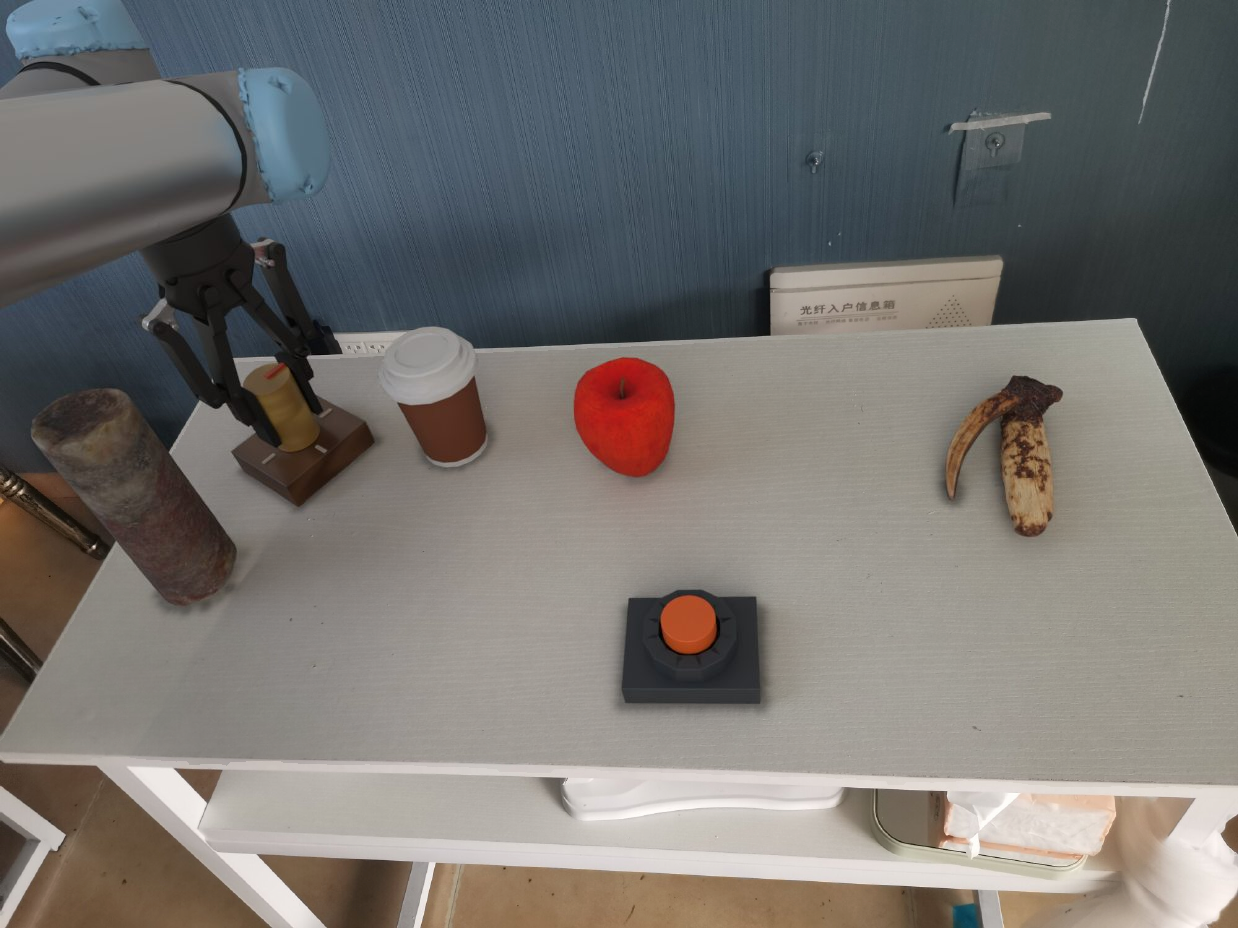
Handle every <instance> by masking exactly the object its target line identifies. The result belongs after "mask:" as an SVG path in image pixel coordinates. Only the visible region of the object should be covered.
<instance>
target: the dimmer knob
mask: <svg viewBox="0 0 1238 928" xmlns="http://www.w3.org/2000/svg"><path fill="white" fill-rule="evenodd" d="M242 387H243V388H245V389H247V390H249V391H250V392H252V393H253V394H254V395H255V397H256V399H257V401H258V402H259V404H260V406H261V408H262V409H263V411H264V413H265V414H266V416H267V418H268V420H269V421H270V423H271V425H272V427H273V428H274V430H275V432H276V433H277V435H278V437H279V439H280V440H281V442H282V444H281V445H280V446H279V447H278V448H279V449H280V450H282V451H286V452H294V451H299V450H302V449H304V448H306V447H308V446H309V445H311V444H312V443H313V442H314V441H315V440H316V439H317V437H318V436H319V433H320V427H319V425H318V423H317V421H316V419H315V417H314V415H313V413H312V411H311V409H310V407H309V406H308V404H307V402H306V400H305V398H304V396H303V394H302V392H301V390H300V388H299V386H298V385H297V383H296V381H295V379H294V377H293V375H292V373H291V371H290V369H289V368H288V367H287V366H286V364H285V363H283V362H281V363H278V362H274V363H267V364H264V365H261V366H259V367H256V368H255V369H254V370H252V371H251V372H249V373H248V374H247V375H246V376H245V377H244V380H243V382H242Z"/></svg>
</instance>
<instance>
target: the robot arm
mask: <svg viewBox="0 0 1238 928" xmlns="http://www.w3.org/2000/svg"><path fill="white" fill-rule="evenodd" d="M5 33H6V36H7V37H8V39H9V41H10V44H11V45H12V47H13V49H14V52H15V55H14V56H15V57H16V58H17V59H18V61H20V63H22V65H23V66H22V67H21V68H20V69H19V70H18V71H17V72H16V73H15V76H14V77H13V78H11V80H10V81H8V82H7V83H6V84H4V85H3V86H2V87H1V88H0V310H2V309H4V308H7V307H9V306H11V305H14V304H16V303H19V302H21V301H23V300H26V299H27V298H31V297H32V296H34V295H37V294H40V293H42V292H44V291H47V290H49V289H51V288H53V287H56V286H59V285H61V284H63V283H65V282H67V281H70V280H72V279H74V278H77V277H79V276H82V275H84V274H86V273H89V272H91V271H93V270H96V269H98V268H100V267H103V266H105V265H108V264H110V263H112V262H115V261H117V260H119V259H121V258H124V257H127V256H128V255H130V254H131V255H132V254H133V253H135V252H137V253H139V255H140V257H141V258H142V260H143V262H144V263H145V265H146V267H147V268H148V270H149V271H150V273H151V274H152V276H153V277H154V279H155V281H156V284H157V296H158V298H159V301H158V302H157V303H156V305H155V306H154V307H153V308H152V309H151V311H150V312H149V313H147V312H142V313H140V314H139V315H138V316H137V318H136V324H137V325H138V326H139V328H142V329H143V330H144V331H146V332H147V333H149V334H150V335H152V336H153V337H154V338H156V340H157V342H158V343H159V345H160V346H161V348H162V349H163V350H164V351H165V353H166V356H167V357H168V358H169V359H170V361H171V363H172V364H173V366H174V367H175V368H176V370H177V372H178V373H179V374H180V376H181V377H182V379H183V380H184V382H185V383H186V385H187V387H188V388H189V389H190V391H191V392H192V394H193V396H194V397H195V398H196V399H197V400H199V401H200V402H202V403H203V404H205V405H207V406H208V407H210V408H211V409H214V410H219V409H221V408H222V407H223V405H224V404H226V406H227V408H228V410H229V412H230V413H231V414H232V416H233V418H234V419H235V420H236V421H238V422H239V423H241V424H243V425H245V426H246V427H248V428H250V427H252V429H253V431H254V433H255V432H256V434H257V436H258V437H259V438H260V439H261V440H263V441H265V442H266V443H268V444H269V445H271V446H273V447H274V448H277V447H279V446H280V445H281V444H282V442H281V440H280V439H279V437H278V435H277V433H276V432H275V430H274V428H273V427H272V425H271V423H270V421H269V420H268V418H267V416H266V414H265V413H264V411H263V409H262V408H261V406H260V404H259V402H258V401H257V399H256V397H255V395H254V394H253V393H252V392H250V391H249V390H247V389H245V388H243V385H242V384H241V380H240V377H239V373H238V369H237V367H236V366H237V365H236V363H235V359H234V356H233V352H232V349H231V346H230V342H229V339H228V336H227V335H228V334H227V331H228V324H227V321H226V316H227V315H228V314H230V312H231V311H232V310H233V309H235V308H239V307H241V308H242V309H243V310H244V312H246V313H247V314H248V316H249V317H251V319H252V320H253V321H254V322H255V323H256V325H258V326H259V328H260V329H261V330H263V332H264V333H265V334H266V336H268V338H269V339H271V341H272V342H273V343H274V344H275V345H276V346H277V347H278V348H279V349H281V350H279V351H278V352H276V353H275V354H273V357H274V359H275V361H276V363H281V362H283V363H285V364H286V366H287V367H288V368H289V369H290V371H291V373H292V375H293V377H294V379H295V381H296V383H297V385H298V386H299V388H300V390H301V392H302V394H303V396H304V398H305V400H306V402H307V404H308V406H309V407H310V409H311V411H312V412H313V413H314V414H316V415H319V414H320V413H321V412H323V411H324V410H323V408H322V406H321V404H320V403H319V401H318V399H317V397H316V395H317V394H316V393H315V391H314V388H313V387H312V385H311V383H310V381H311V380H312V379H313V378H315V374H314V373H315V372H314V370H313V368H312V366H311V364H310V361H309V360H308V356H310V355H309V354H310V348H308V347H307V346H305V345H306V344H307V343H308V341H312V340H314V339H315V338H316V336H317V330H316V328H315V325H314V323H313V321H312V318H311V317H310V315H309V312H308V310H307V308H306V306H305V303H304V301H303V299H302V297H301V295H300V293H299V290H298V288H297V286H296V284H295V282H294V279H293V277H292V274H291V272H290V271H289V267H288V261H287V249H286V246H285V245H284V244H283V243H281V242H278V241H275V240H273V239H271V238H268V237H266V236H261V237H258V239H257V240H256V242H252V243H249V242H247V241H245V240H244V238H243V237H242V236H241V232H240V229H239V228H238V225H237V223H236V222H235V219H234V217H233V215H232V214H231V212H233V211H236V210H238V209H240V208H244V207H249V206H254V205H263V204H273V206H281V205H283V203H284V202H286V203H287V202H291V201H298V200H304V199H305V200H306V199H309V198H312V197H315V196H316V195H318V194H319V193H320V192H321V191H322V190H323V188H324V187H325V185H326V183H327V181H328V179H329V175H330V170H331V160H332V159H331V158H332V157H331V142H330V137H329V131H328V125H327V122H326V119H325V115H324V112H323V109H322V107H321V104H320V102H319V100H318V97H317V95H316V94H315V92H314V91H313V89H312V88H311V86H310V85H309V84H308V82H307V81H306V80H305V79H304V77H302V76H301V75H300V74H298V73H297V72H296V71H293V70H292V69H289V68H287V67H281V66H279V67H278V66H277V67H260V68H259V67H258V68H250V67H248V66H246V67H238V68H237V69H236V70H235V69H234V70H225V71H215V72H208V73H199V74H189V75H182V76H181V75H179V76H174V77H173V76H172V77H165V78H163V77H162V74H161V71H159V68H158V66H157V64H156V62H155V60H154V58H153V56H152V54H151V51H150V50H151V48H150V45H149V43H148V42H146V41H145V40H144V38H143V36H142V34H141V32H140V31H139V30H138V28H137V26H136V24H135V22H134V21H133V19H132V17H131V16H130V14H129V12H128V11H127V9H126V7H125V5H124V4H123V2H122V1H121V0H30V1H28V2H27V3H25V4H23V5H21V6H20V7H18V8H16V9H15V10H13V11H12V12H11V13H10V14H9V15H8V16H7V19H6V25H5ZM255 264H256V265H257V266H259V268H260V271H261V273H262V275H263V277H264V279H265V281H266V284H267V285H268V287H269V290H270V291H271V294H272V296H273V298H274V300H275V302H276V304H277V306H278V309H279V311H280V312H281V314H282V316H283V319H284V321H285V323H286V324H285V323H284V322H283V321H282V320H281V319H280V318H279V317H278V315H277V314H276V313H275V312H274V311H273V309H272V308H271V307H270V306H269V305H268V304H267V302H266V299H265V298H264V296H262V294H261V293H260V292H259V291H258V289H256V287H255V286H254V285H253V277H254V270H255ZM176 310H177V311H180V312H183V313H186V314H188V315H189V316H190V320H191V322H192V324H193V326H194V327H195V328H196V331H197V335H198V337H199V340H200V344H201V347H202V350H203V353H204V357H205V360H206V363H207V366H208V370H209V373H210V376H211V377H210V376H209V374H208V373H207V371H206V369H205V368H204V366H203V365H202V364H201V362H200V360H199V359H198V357H197V356H196V354H195V352H194V351H193V349H192V348H191V346H190V345H189V343H188V342H187V340H186V339H185V338H184V337H183V335H182V334H181V333H179V332H178V331H179V329H180V325H179V322H178V320H177V319H176V317H175V311H176ZM286 325H287V326H286ZM315 394H316V395H315Z"/></svg>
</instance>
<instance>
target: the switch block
mask: <svg viewBox="0 0 1238 928" xmlns="http://www.w3.org/2000/svg"><path fill="white" fill-rule="evenodd" d="M687 595H690V596H697V597H700V598H702V599H704V600H706V601H707V602H708V603H709V604H710V605H711V606H712V608H713V609H714V612H715V616H716V628H717V633H716V637H715V640H714V641H713V643H712V644H711V645H710V646H709V647H708V648H707V649H705V650H704V651H702V652H699V653H696V654H682V653H679V652H676V651H674V650H673V649H671V648H670V647H669V646H668V645H667V643H666V642H665V640H664V637H663V632H662V626H661V614H662V611H663V609H664V608H665V606H666V605H667V604H668V603H669V602H670V601H672V600H673V599H675V598H678V597H681V596H687ZM757 605H758V602H757V596H756V595H752V596H750V595H747V596H717V595H714V594H713V593H710V592H708V591H706V590H704V589H700V588H699V589H676V590H673V591H672V592H670V593H669V594H666V595H664V596H662V597H629V598H628V601H627V613H626V626H625V628H626V629H625V638H624V653H623V665H622V678H621V692H622V696H623V700H624V703H625V704H695V705H697V704H702V705H703V704H706V705H707V704H708V705H709V704H712V705H713V704H715V705H719V704H720V705H724V704H725V705H726V704H727V705H733V704H734V705H760V704H761V680H760V677H761V676H760V655H759V654H760V653H759V651H760V650H759V628H758V626H759V625H758V606H757Z"/></svg>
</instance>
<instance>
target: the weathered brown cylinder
mask: <svg viewBox="0 0 1238 928" xmlns="http://www.w3.org/2000/svg"><path fill="white" fill-rule="evenodd" d="M30 434H31V435H30V437H31V439H32V441H33V442H34V444H35V445H36V446H37V448H38V449H39V450H40V452H41V453H42V454H43V455H44V457H45V458H46V459H47V460H48V462H49V463H50V464H51V465H52V467H53V468H54V469H56V471H57V472H58V473H59V475H60V476H61V477H62V478H63V480H65V482H66V484H68V485H69V486H70V487H71V489H72V490H73V491H74V492H75V493H76V495H78V497H79V498H80V500H81V501H82V502H83V503H84V505H85V506H86V507H87V508H88V509H89V510H90V512H91V513H92V514H93V515H94V516H95V517H96V518H97V520H98V521H99V522H100V523H101V525H103V527H104V528H105V529H106V531H107V532H108V533H109V534H110V535H111V537H112V538H113V539H114V540H115V541H116V543H117V544H118V545H119V547H120V548H121V549H122V551H123V552H124V553H125V555H127V557H128V558H129V559H130V560H131V561H132V563H133V564H134V566H136V568H137V569H138V571H140V573H142V575H143V576H144V577H145V578H146V579H147V581H148V582H149V583H150V584H151V586H152V587H153V588H154V589H155V591H157V593H158V594H159V595H160V596H161V597H162V599H163V600H164V601H165V602H166V603H167V604H170V605H174V606H177V607H187V606H190V605H191V604H194V603H196V602H199V601H200V600H204V599H205V598H209V597H212V596H213V595H215V594H216V593H217V592H218V591H219V590H220V589H221V588H223V587H224V586H225V584H226V583H227V581H228V579H229V578H230V577H231V576H232V573H233V571H234V565H235V563H236V560H237V553H238V549H237V546H236V544H235V542H234V541H233V540H232V538H231V537H230V535H229V534H228V533H227V531H226V529H225V528H224V527H223V526H222V524H221V523H220V521H219V520H218V518H217V517H216V516H215V514H214V513H213V512H212V510H211V508H209V506H208V504H207V503H206V502H205V501H204V500H203V498H202V497H201V495H200V494H199V493H198V491H197V489H196V488H195V487H194V485H193V484H192V483H191V482H190V480H189V479H188V478H187V476H186V474H185V473H184V472H183V470H182V469H181V468H180V467H179V465H178V463H177V462H176V461H175V459H174V457H173V456H172V455H171V453H170V452H169V450H168V449H167V448H166V446H165V445H164V443H163V442H162V440H161V439H160V438H159V436H158V435H157V434H156V433H155V431H154V430H153V429H152V427H151V426H150V425H149V423H148V421H147V419H146V418H145V417H144V415H143V413H142V412H141V411H140V409H139V408H138V407H137V405H136V404H135V403H134V401H133V400H132V398H131V397H130V396H129V395H128V393H126V392H124V391H123V390H121V389H119V388H111V387H106V388H92V389H88V390H82V391H78V392H72V393H68V394H66V395H63V396H61V397H58V398H57V399H55V400H54V401H53V402H51V403H50V404H49V405H47V406H46V407H45V408H43V409H42V410H41V411H40V412H39V413H38V414H37V415H36V416H35V417H34V418H33V419H32V423H31V427H30Z"/></svg>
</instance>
